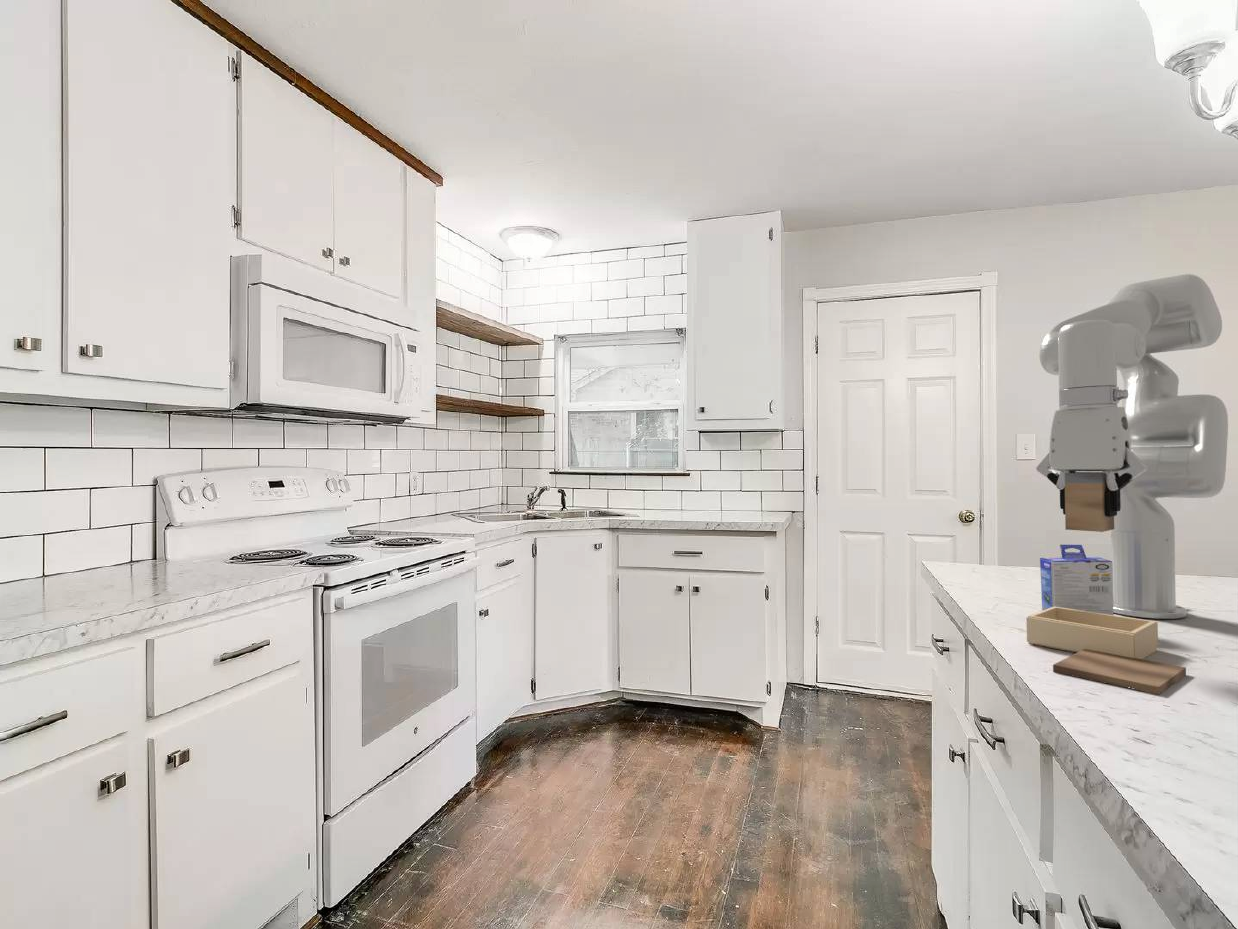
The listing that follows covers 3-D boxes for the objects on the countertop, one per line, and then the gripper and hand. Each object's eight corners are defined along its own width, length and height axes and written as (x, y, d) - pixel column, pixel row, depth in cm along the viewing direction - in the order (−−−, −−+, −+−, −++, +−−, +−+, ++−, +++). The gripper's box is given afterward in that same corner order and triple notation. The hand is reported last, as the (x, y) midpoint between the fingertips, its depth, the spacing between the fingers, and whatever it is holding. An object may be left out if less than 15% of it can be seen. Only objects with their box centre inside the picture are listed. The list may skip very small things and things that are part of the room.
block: (1077, 526, 108) (1076, 472, 108) (1114, 529, 104) (1113, 472, 104) (1065, 529, 105) (1064, 473, 105) (1102, 531, 101) (1101, 473, 101)
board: (1085, 655, 101) (1085, 648, 101) (1185, 674, 91) (1185, 667, 91) (1053, 671, 94) (1053, 664, 94) (1158, 694, 84) (1158, 687, 84)
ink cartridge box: (1100, 624, 119) (1098, 543, 119) (1116, 632, 113) (1115, 548, 113) (1039, 622, 121) (1038, 543, 121) (1052, 630, 115) (1051, 547, 115)
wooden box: (1055, 631, 114) (1054, 606, 114) (1158, 649, 103) (1157, 621, 103) (1026, 644, 107) (1026, 616, 107) (1133, 664, 96) (1132, 634, 96)
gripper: (1162, 396, 100) (1164, 516, 100) (1038, 405, 113) (1040, 510, 113) (1146, 394, 95) (1148, 520, 95) (1018, 403, 109) (1020, 513, 109)
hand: (1089, 513), depth 104 cm, fingers closed on block, 5 cm apart
